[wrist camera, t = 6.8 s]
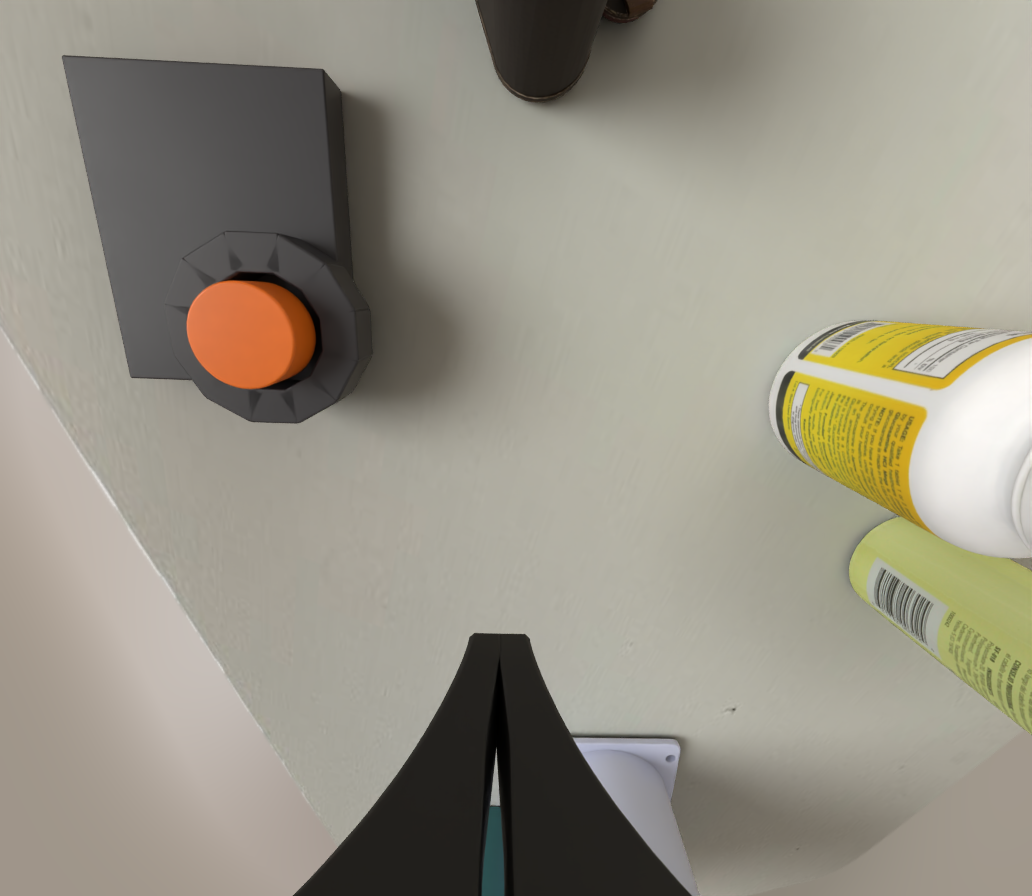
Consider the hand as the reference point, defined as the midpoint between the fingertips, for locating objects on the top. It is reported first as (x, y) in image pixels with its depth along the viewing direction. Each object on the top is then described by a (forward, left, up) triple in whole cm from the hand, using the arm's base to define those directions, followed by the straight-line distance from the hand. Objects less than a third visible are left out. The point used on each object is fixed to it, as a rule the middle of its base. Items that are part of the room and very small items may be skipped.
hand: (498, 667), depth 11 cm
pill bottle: (+5, -14, -11) cm, 18 cm away
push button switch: (+10, +10, -10) cm, 18 cm away
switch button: (+7, +8, -7) cm, 13 cm away
